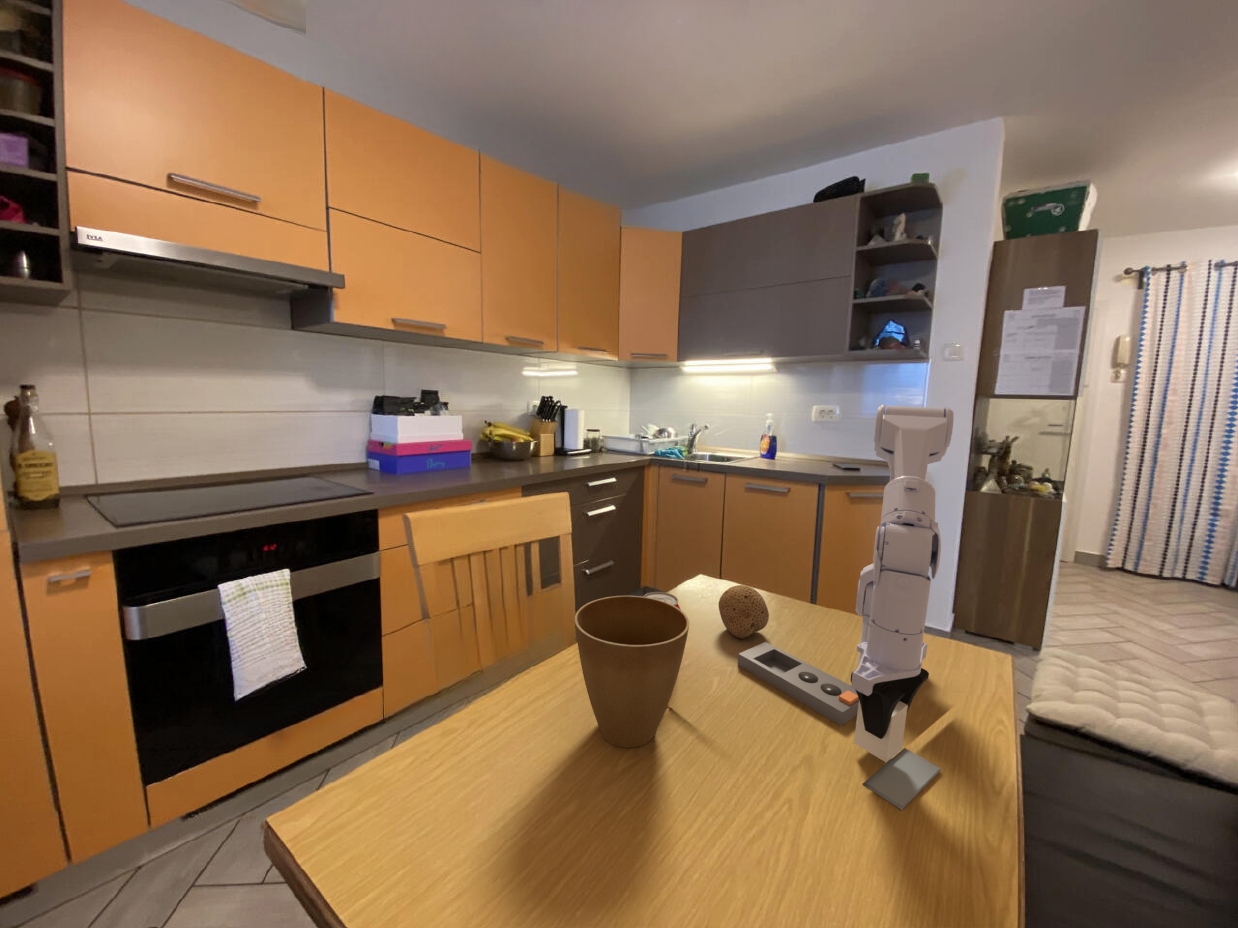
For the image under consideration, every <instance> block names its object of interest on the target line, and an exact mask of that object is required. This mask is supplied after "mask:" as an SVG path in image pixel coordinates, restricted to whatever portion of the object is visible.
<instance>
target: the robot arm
mask: <svg viewBox="0 0 1238 928" xmlns="http://www.w3.org/2000/svg"><path fill="white" fill-rule="evenodd" d="M954 416H955V415H954V411H953V410H952V409H951V408H950V407H949V406H945V407H944V408H943V407H928V406H927V407H926V406H925V407H924V406H905V405H904V406H903V405H901V406H900V405H887V406H886V404H881V405H880V406H879V407H877V412H876V419H875V427H874V428H875V429H874V437H873V438H874V439H873V441H874V452H875V456H876V457H878V458H881V459H883V460H885V461H886V462H887V465H888V468H889V473H890V475H889V482H887V484H886V485H885V487H884V490H883V499H882V505H881V506H882V507H881V517H880V518H881V519H880V525H878V526H877V527H876V530H875V538H874V545H873V555H872V563H870V564H868V565H867V566H865V567H863V568H862V570H860V576H859V580H858V585H857V592H856V602H855V613H856V614H857V616H860V617H862V621H861V622H862V626H861V627H862V628H861V636H860V643H858V644H857V645H856V651H857V652H858V666H857V668H856V669H855V670H853V671H852V672H851V674H850V683H851V684H850V685H851V687H852V688H853V689H855V690H856V693H857V695H858V698H859V701H860V705H861V710H862V715H863V722H864V727H865V731H867V732H869V733H871V734H872V735H874V736H876V737H878V738H879V739H882V738H884V736H885V734H886V732H887V730H888V727H889V723H890V720H891V716H892V713H893V711H894V709H895V707H896V705H897V703H898V702H899V701H901V702H903V703H905V704H907V705H908V707H907V713H908V711H909V709H910V707H911V704H912V702H913V700H914V697H915V696H916V694H917V692H918V691H919V690H920V688H921V687H922V685H923V684H924V683H925V682H927V680H928V679H929V677H930V673H929V671H928V670H926V669H924V668H923V667H922V665H923V660H924V659H926V656H927V649H928V644H927V643H925V642H923V641H924V635H925V634H924V633H925V627H926V620H927V619H926V618H927V612H928V604H929V599H930V597H929V596H930V589H931V582H932V580H934V579H935V578H936V575H937V574H938V573H937V572H938V570H939V567H940V562H941V561H940V560H941V553H942V551H941V550H942V540H941V533H940V529H939V523H938V521H937V522H936V490H935V488H934V487H933V485H932V484H931V483H929V481H927V480H926V477H927V471H928V465H930V464H934V463H938V462H942V458H943V457H945V455H946V452H947V450H948V448H949V447H950V444H951V440H952V434H953V428H954ZM930 569H931V577H930V576H929V572H930ZM931 578H932V580H931Z"/></svg>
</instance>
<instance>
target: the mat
mask: <svg viewBox="0 0 1238 928" xmlns="http://www.w3.org/2000/svg"><path fill="white" fill-rule="evenodd" d="M940 772H941V767H939V766H938V765H936V764H934V763H932V762H930V761H929V760H927V759H925V758H923V757H922V756H920V755H919V754H916V753H914V752H913V751H911V750H909V749H907V748H906V747H904V748H902V749H901V750H900V751H899V752H898V753H897V754H896V755H894V756H893V757H892V758H891V759H890V760H889V761H887V762H885V764H884V765H882V767H881V768H879V769H878V770H877V771H875V773H874V774H872V775H871V776H870V777H869V778H867V779H866V780H865V781H864V782H863V783H862V785H863V786H864V787H866V788H867V789H868V790H870V791H872V792H873V793H875V794H876V795H878V796H880V798H882V799H884V800H886V801H887V802H889V803H890V804H891V805H893V806H894V807H896V808H897V809H899V810H900V811H902V810H904V808H905V807H907V805H908V804H910V803H911V801H912V800H914V798H916V796H918V795H919V794H920V793H921V791H923V789H925V788H926V787H927V786H928V784H929V783H931V782H932V781H933V780H934V778H935V777H937V775H938V774H939V773H940Z"/></svg>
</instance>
